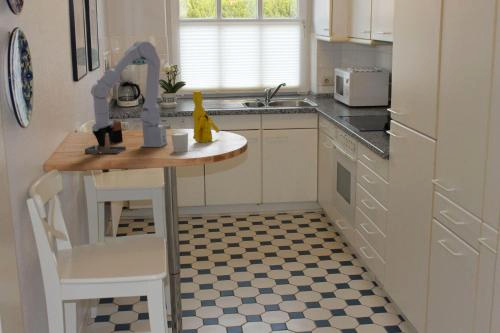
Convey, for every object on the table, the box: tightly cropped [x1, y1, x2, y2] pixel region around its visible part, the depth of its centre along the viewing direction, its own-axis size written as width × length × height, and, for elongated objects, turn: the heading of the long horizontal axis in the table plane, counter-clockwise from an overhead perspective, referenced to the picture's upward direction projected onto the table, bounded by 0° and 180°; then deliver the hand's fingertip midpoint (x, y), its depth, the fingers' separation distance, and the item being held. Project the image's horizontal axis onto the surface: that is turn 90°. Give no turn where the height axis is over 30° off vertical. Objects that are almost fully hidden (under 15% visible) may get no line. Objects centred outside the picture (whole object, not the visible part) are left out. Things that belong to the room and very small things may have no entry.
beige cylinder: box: [171, 132, 189, 153], centre depth 258 cm, size 7×7×7 cm
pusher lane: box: [84, 144, 127, 154], centre depth 263 cm, size 15×8×2 cm, turn 75°
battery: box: [110, 119, 124, 144], centre depth 285 cm, size 4×7×10 cm, turn 48°
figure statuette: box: [192, 90, 221, 144], centre depth 274 cm, size 18×8×22 cm, turn 145°
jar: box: [99, 132, 111, 150], centre depth 263 cm, size 4×4×7 cm
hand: (104, 145), depth 263 cm, fingers closed on jar, 4 cm apart
